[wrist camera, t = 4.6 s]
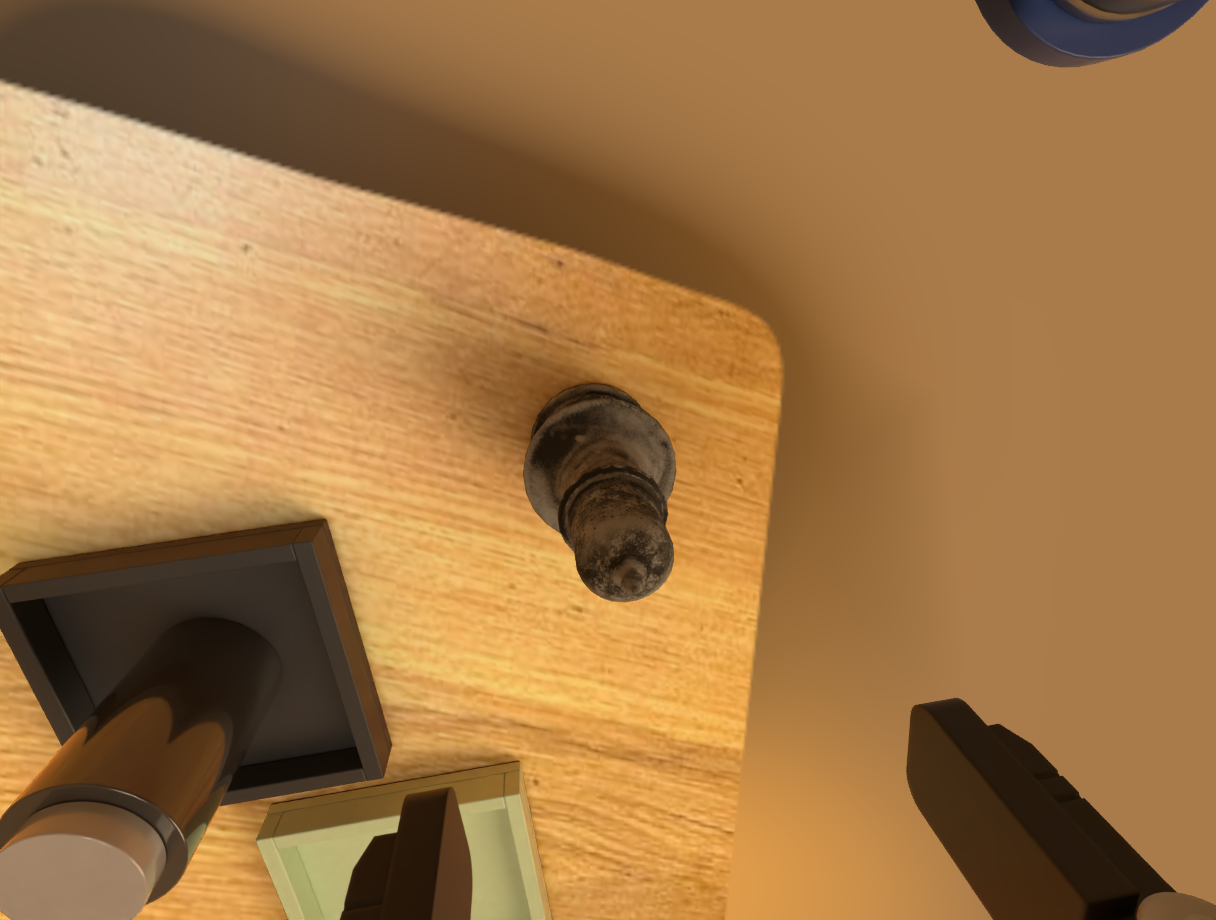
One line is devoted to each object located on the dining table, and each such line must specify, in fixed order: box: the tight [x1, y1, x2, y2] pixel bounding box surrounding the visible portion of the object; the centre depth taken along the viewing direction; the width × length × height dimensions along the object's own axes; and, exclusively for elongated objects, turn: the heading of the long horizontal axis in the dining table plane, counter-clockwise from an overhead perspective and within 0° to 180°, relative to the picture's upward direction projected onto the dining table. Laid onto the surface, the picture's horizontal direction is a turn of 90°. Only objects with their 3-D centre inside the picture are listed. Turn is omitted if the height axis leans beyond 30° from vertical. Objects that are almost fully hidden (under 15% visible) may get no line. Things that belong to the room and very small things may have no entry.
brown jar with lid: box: [0, 618, 282, 920], centre depth 25 cm, size 6×6×10 cm
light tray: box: [256, 762, 552, 920], centre depth 35 cm, size 13×13×2 cm
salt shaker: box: [523, 384, 676, 602], centre depth 23 cm, size 6×6×12 cm
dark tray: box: [0, 519, 392, 806], centre depth 29 cm, size 13×13×2 cm
